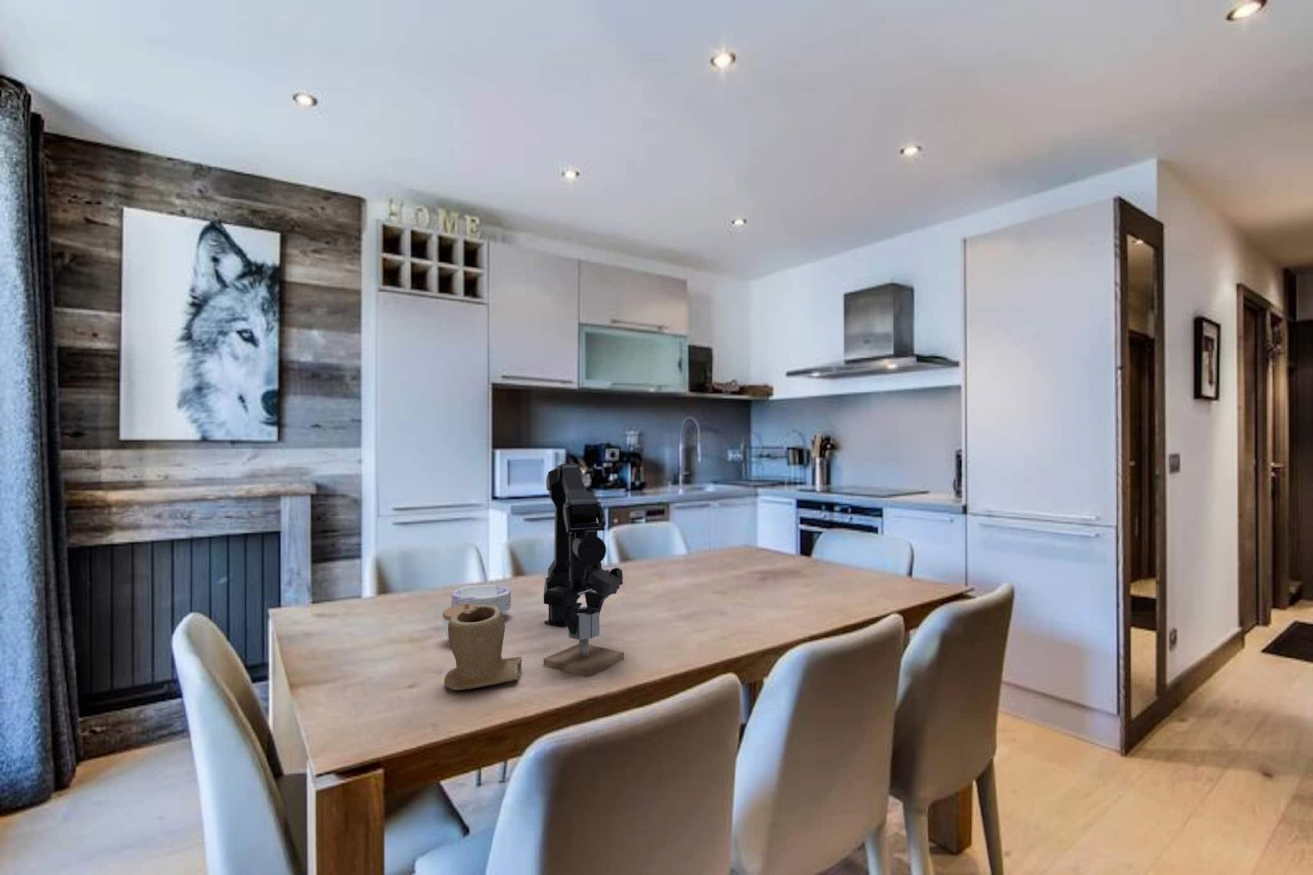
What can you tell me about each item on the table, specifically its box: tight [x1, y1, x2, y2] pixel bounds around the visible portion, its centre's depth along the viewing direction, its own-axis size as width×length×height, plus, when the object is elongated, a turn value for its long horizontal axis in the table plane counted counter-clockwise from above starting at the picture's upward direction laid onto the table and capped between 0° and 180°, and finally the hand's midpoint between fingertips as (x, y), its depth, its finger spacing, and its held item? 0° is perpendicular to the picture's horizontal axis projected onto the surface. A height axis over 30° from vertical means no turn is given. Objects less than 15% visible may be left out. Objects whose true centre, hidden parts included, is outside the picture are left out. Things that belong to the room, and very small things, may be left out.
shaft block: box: [543, 639, 625, 678], centre depth 133 cm, size 12×12×6 cm
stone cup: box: [443, 605, 523, 691], centre depth 122 cm, size 15×12×15 cm
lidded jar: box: [442, 603, 478, 640], centre depth 147 cm, size 11×11×9 cm
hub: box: [567, 606, 600, 641], centre depth 133 cm, size 6×6×5 cm
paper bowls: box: [450, 584, 512, 615], centre depth 166 cm, size 15×15×8 cm
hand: (583, 629), depth 133 cm, fingers closed on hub, 6 cm apart
